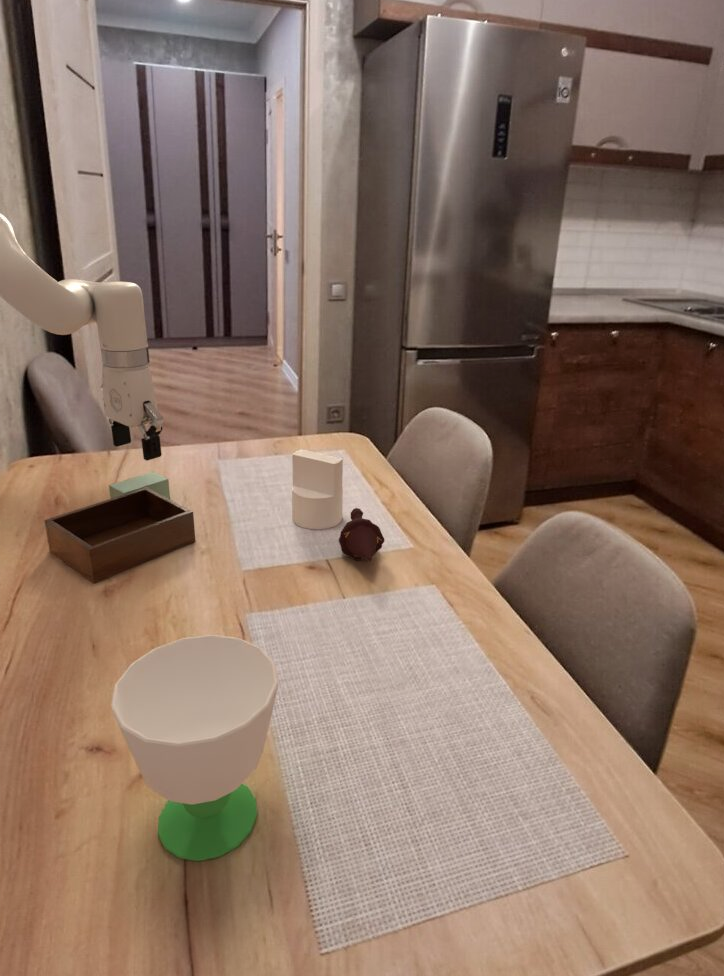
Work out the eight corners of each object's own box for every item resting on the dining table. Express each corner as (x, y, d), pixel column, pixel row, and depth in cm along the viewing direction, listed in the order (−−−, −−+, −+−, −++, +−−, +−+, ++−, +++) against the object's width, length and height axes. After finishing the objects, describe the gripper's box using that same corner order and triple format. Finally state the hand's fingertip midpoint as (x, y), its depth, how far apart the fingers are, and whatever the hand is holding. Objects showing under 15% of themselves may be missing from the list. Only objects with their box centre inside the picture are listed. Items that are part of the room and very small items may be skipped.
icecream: (399, 542, 101) (378, 507, 115) (352, 534, 99) (337, 499, 113) (386, 583, 103) (368, 543, 116) (340, 576, 100) (327, 536, 114)
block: (111, 504, 122) (108, 484, 120) (155, 490, 128) (153, 471, 127) (126, 513, 119) (123, 493, 117) (170, 498, 126) (168, 478, 124)
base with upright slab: (351, 513, 123) (352, 453, 119) (326, 533, 116) (326, 470, 111) (309, 503, 126) (309, 443, 122) (282, 521, 119) (281, 459, 114)
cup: (153, 761, 69) (138, 634, 63) (288, 759, 70) (285, 633, 64) (109, 889, 56) (84, 746, 50) (274, 884, 57) (269, 743, 51)
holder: (49, 551, 106) (44, 520, 104) (149, 515, 119) (146, 487, 116) (94, 583, 98) (89, 550, 96) (195, 541, 111) (193, 511, 109)
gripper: (78, 352, 116) (92, 444, 122) (133, 370, 106) (145, 470, 112) (118, 346, 121) (130, 434, 128) (174, 362, 111) (183, 458, 118)
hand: (137, 451), depth 120 cm, fingers open, 9 cm apart
